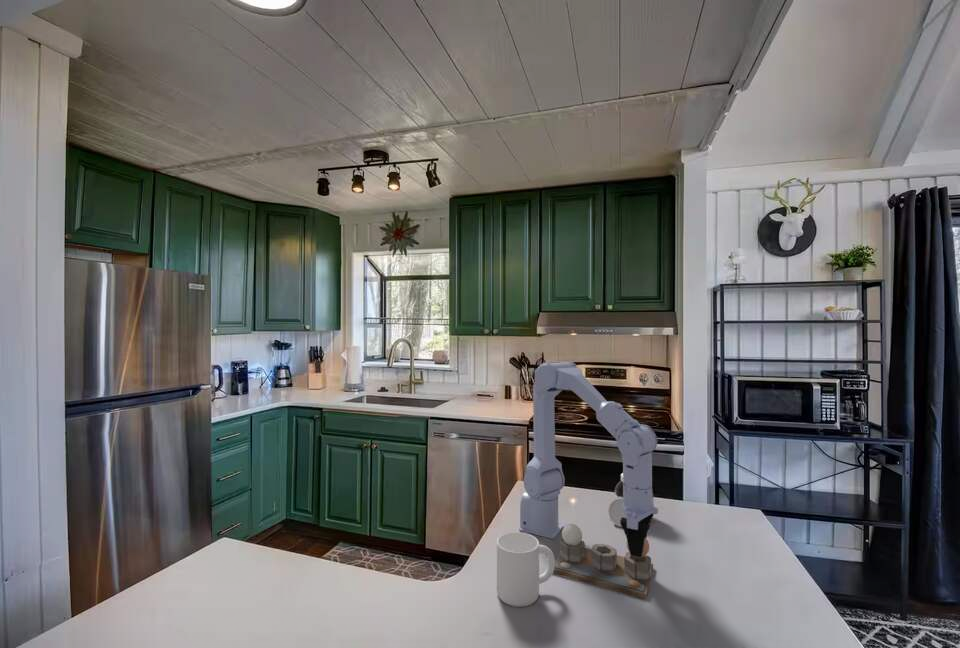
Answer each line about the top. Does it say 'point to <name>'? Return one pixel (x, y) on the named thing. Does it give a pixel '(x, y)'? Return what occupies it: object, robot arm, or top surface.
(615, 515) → the spread jar
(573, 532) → the cream ball
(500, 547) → the mug
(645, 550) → the terracotta ball
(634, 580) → the brown egg holder tray
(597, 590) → the top surface
